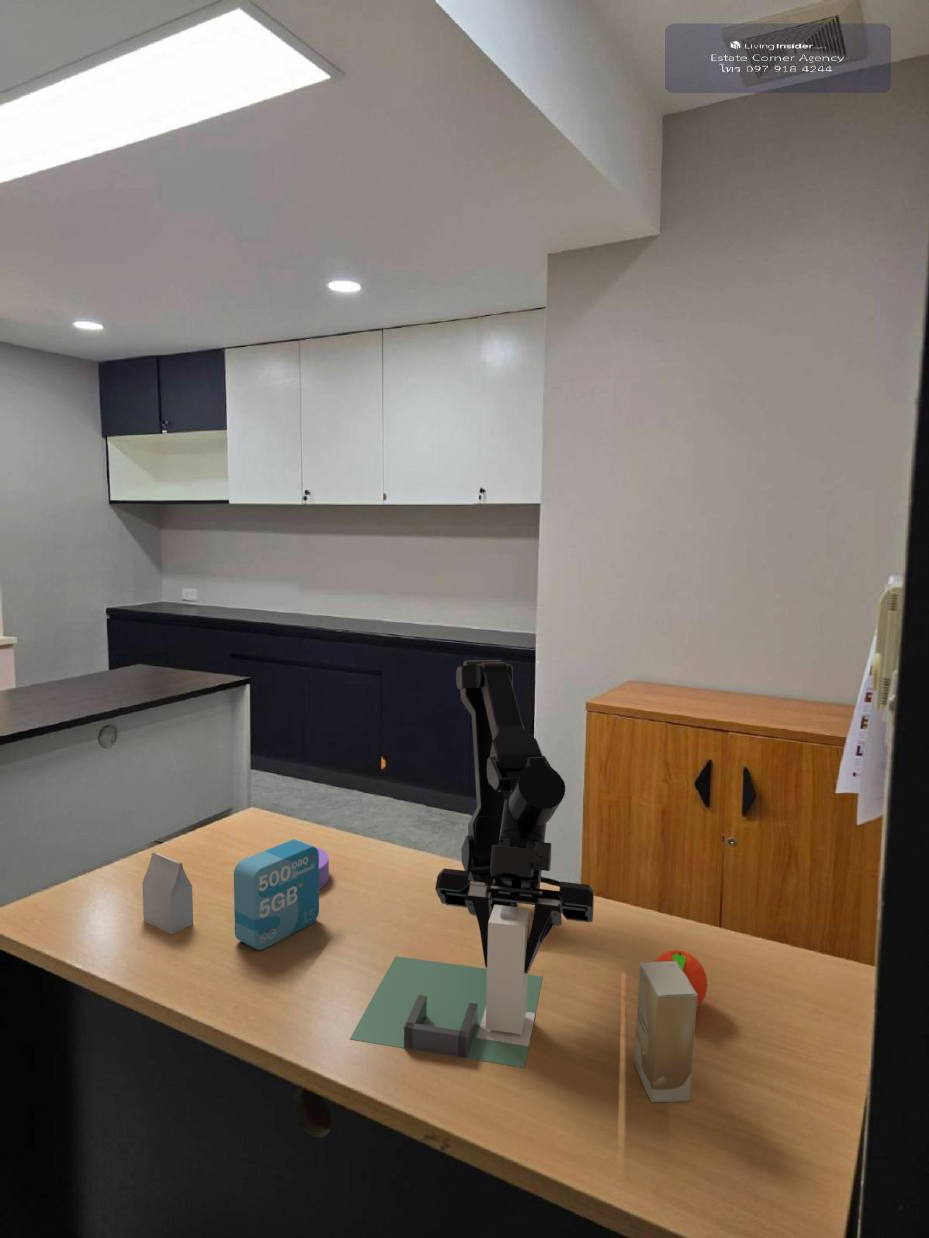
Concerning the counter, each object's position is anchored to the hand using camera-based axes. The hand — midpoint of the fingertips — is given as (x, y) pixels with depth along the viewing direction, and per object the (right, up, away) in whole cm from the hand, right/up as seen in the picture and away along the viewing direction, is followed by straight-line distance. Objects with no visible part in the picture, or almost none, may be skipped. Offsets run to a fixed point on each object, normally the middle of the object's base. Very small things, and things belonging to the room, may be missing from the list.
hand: (506, 969), depth 88 cm
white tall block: (0, -7, +2) cm, 7 cm away
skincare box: (+16, -10, -5) cm, 20 cm away
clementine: (+22, -9, +8) cm, 24 cm away
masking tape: (-33, -4, +41) cm, 53 cm away
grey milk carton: (-49, -5, +26) cm, 56 cm away
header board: (-6, -8, +6) cm, 12 cm away
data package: (-32, -6, +24) cm, 40 cm away
